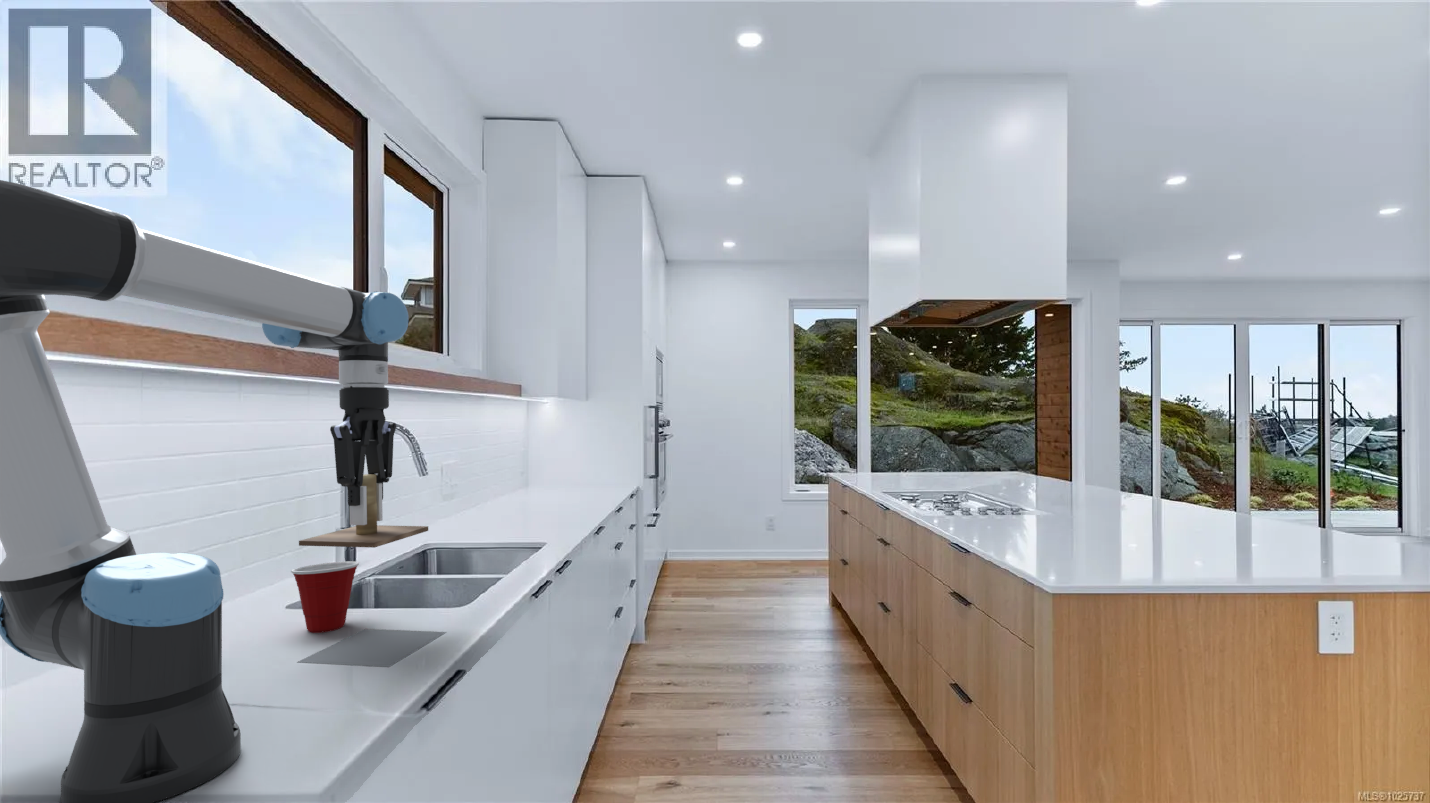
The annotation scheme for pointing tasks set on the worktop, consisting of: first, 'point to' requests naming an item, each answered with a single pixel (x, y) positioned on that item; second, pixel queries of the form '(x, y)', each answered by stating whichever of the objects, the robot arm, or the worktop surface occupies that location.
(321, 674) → the worktop surface
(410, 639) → the charcoal mat
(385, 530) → the walnut lid
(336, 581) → the plastic cup
